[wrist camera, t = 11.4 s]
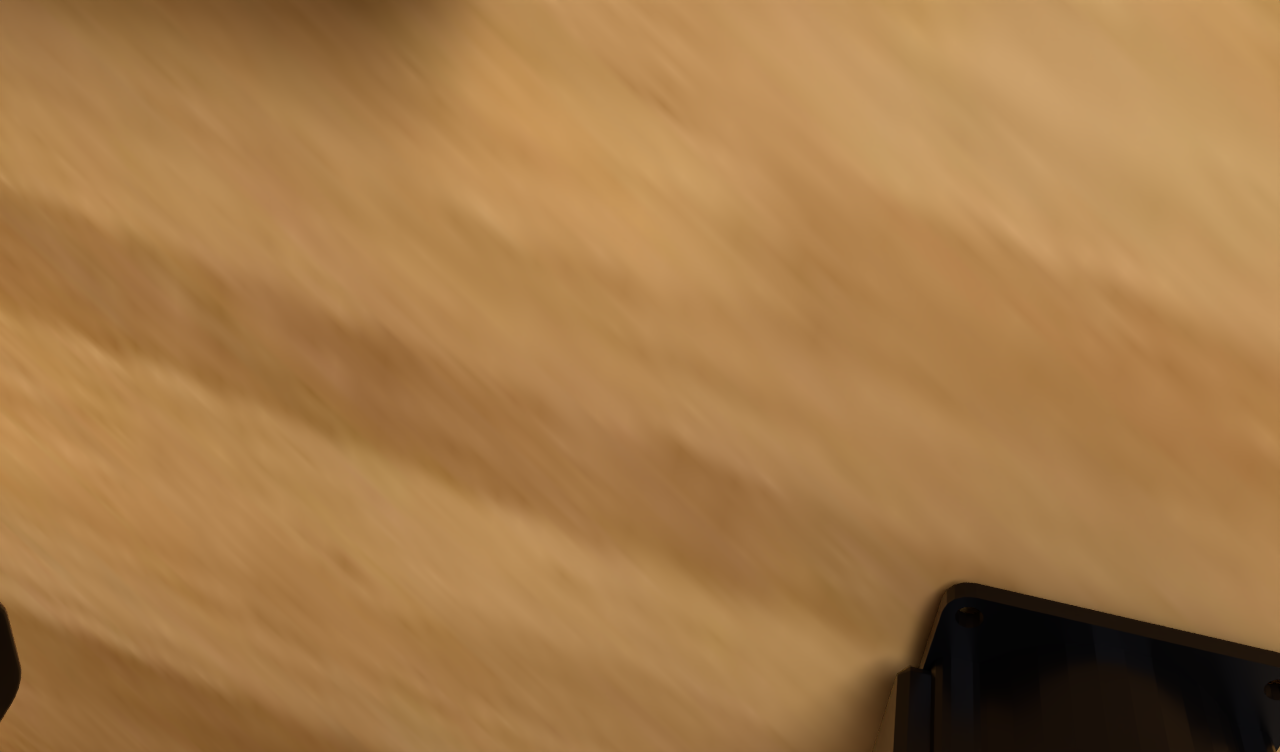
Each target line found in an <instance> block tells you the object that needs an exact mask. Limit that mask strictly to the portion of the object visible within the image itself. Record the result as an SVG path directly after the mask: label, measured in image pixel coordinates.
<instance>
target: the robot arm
mask: <svg viewBox="0 0 1280 752" xmlns="http://www.w3.org/2000/svg"><path fill="white" fill-rule="evenodd" d="M964 607H973V608H976V609H978V610H980V611H978V612H975V613H964V612H962V611H960V610H959V609H961V608H964ZM1277 679H1279V680H1280V653H1278V652H1273V651H1269V650H1265V649H1260V648H1256V647H1251V646H1247V645H1243V644H1238V643H1234V642H1230V641H1225V640H1221V639H1217V638H1212V637H1208V636H1203V635H1199V634H1195V633H1190V632H1186V631H1182V630H1177V629H1173V628H1169V627H1164V626H1160V625H1155V624H1151V623H1147V622H1142V621H1138V620H1134V619H1129V618H1125V617H1121V616H1116V615H1112V614H1107V613H1103V612H1099V611H1094V610H1090V609H1086V608H1081V607H1077V606H1073V605H1068V604H1064V603H1060V602H1055V601H1051V600H1046V599H1042V598H1038V597H1033V596H1029V595H1025V594H1020V593H1016V592H1012V591H1007V590H1003V589H998V588H994V587H990V586H985V585H981V584H977V583H960V584H956V585H954V586H952V587H951V588H949V589H947V590H946V592H945V593H944V595H943V597H942V599H941V602H940V605H939V608H938V611H937V615H936V618H935V621H934V624H933V627H932V630H931V633H930V636H929V639H928V642H927V645H926V648H925V651H924V654H923V657H922V660H921V663H920V666H919V668H915V667H911V666H909V667H907V668H905V669H904V670H902V671H901V672H899V673H898V674H897V675H896V678H895V681H894V685H893V688H892V691H891V694H890V697H889V700H888V704H887V707H886V710H885V713H884V716H883V719H882V723H881V726H880V729H879V732H878V735H877V738H876V742H875V745H874V748H873V751H872V752H1276V751H1277V750H1278V748H1279V746H1280V684H1268V683H1269V682H1270V681H1274V680H1277ZM20 680H21V665H20V661H19V657H18V653H17V649H16V645H15V641H14V637H13V633H12V629H11V625H10V621H9V618H8V614H7V611H6V609H5V607H4V605H3V604H2V603H1V602H0V722H1V720H2V718H3V717H4V715H5V713H6V712H7V710H8V709H9V707H10V705H11V704H12V702H13V700H14V698H15V696H16V693H17V691H18V688H19V684H20Z"/></svg>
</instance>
